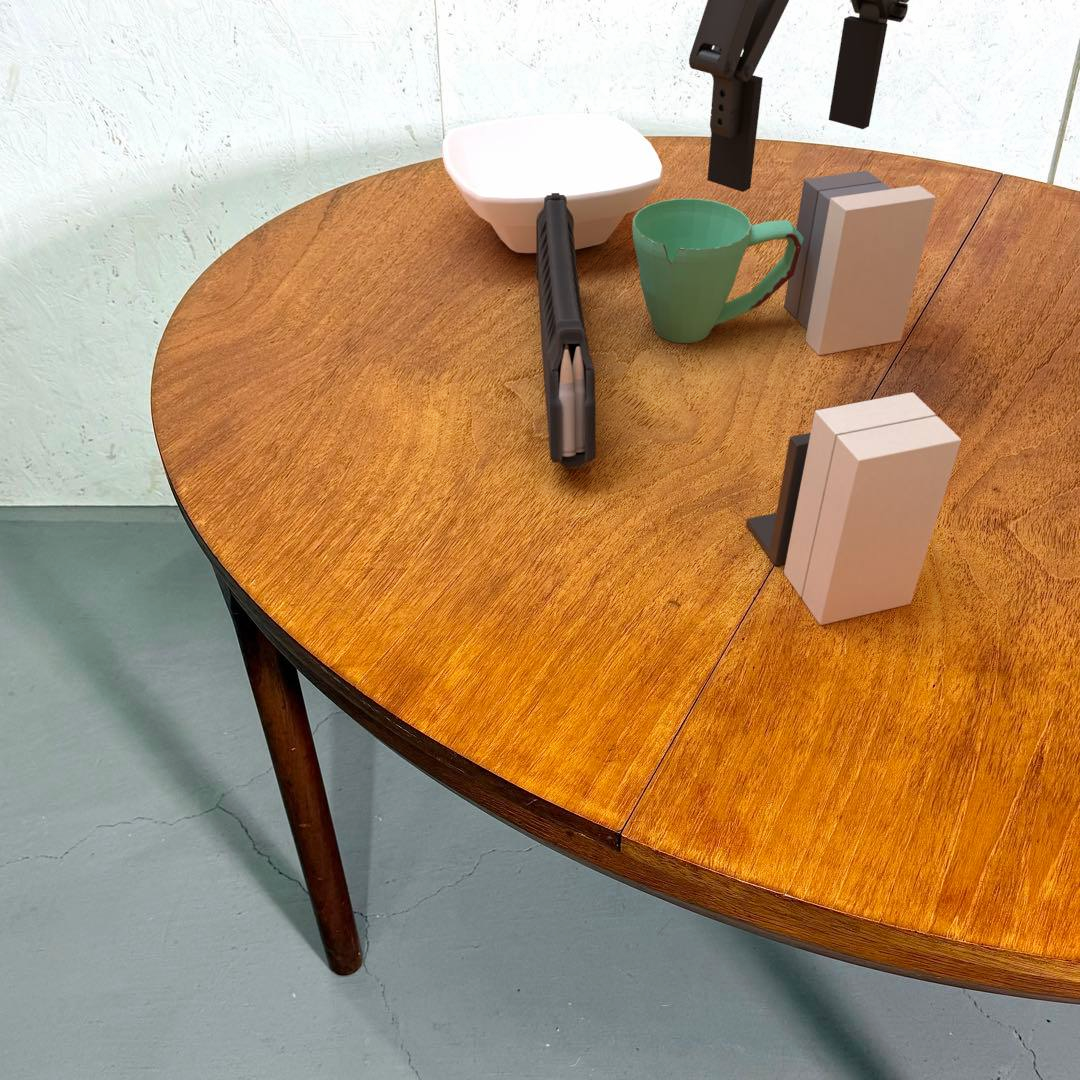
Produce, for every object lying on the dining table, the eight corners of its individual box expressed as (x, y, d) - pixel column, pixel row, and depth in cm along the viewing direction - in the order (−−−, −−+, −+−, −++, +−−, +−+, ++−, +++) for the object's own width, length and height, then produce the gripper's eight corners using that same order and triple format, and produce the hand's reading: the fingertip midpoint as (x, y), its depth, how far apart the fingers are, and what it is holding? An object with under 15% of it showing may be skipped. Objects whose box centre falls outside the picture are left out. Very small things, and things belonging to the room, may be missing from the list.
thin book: (886, 327, 94) (919, 184, 86) (901, 340, 93) (936, 197, 84) (804, 341, 93) (830, 197, 84) (818, 355, 91) (845, 210, 82)
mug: (639, 362, 90) (646, 253, 84) (617, 306, 98) (622, 201, 91) (806, 349, 92) (825, 240, 85) (772, 294, 99) (787, 190, 92)
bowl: (469, 294, 99) (464, 207, 94) (434, 204, 115) (427, 124, 109) (678, 269, 103) (686, 183, 97) (617, 185, 118) (620, 106, 112)
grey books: (842, 296, 99) (867, 170, 91) (870, 323, 95) (899, 193, 87) (783, 306, 97) (803, 178, 89) (809, 333, 94) (833, 203, 86)
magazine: (534, 186, 96) (547, 237, 69) (570, 185, 96) (597, 236, 69) (538, 371, 103) (550, 484, 76) (571, 370, 103) (596, 483, 76)
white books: (835, 505, 76) (871, 346, 67) (914, 603, 68) (966, 438, 60) (745, 524, 74) (770, 364, 66) (816, 626, 67) (854, 461, 58)
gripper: (905, -277, 64) (845, 89, 78) (635, -236, 50) (622, 196, 64) (1026, -272, 60) (940, 113, 74) (766, -226, 46) (722, 232, 60)
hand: (791, 152), depth 69 cm, fingers open, 13 cm apart
